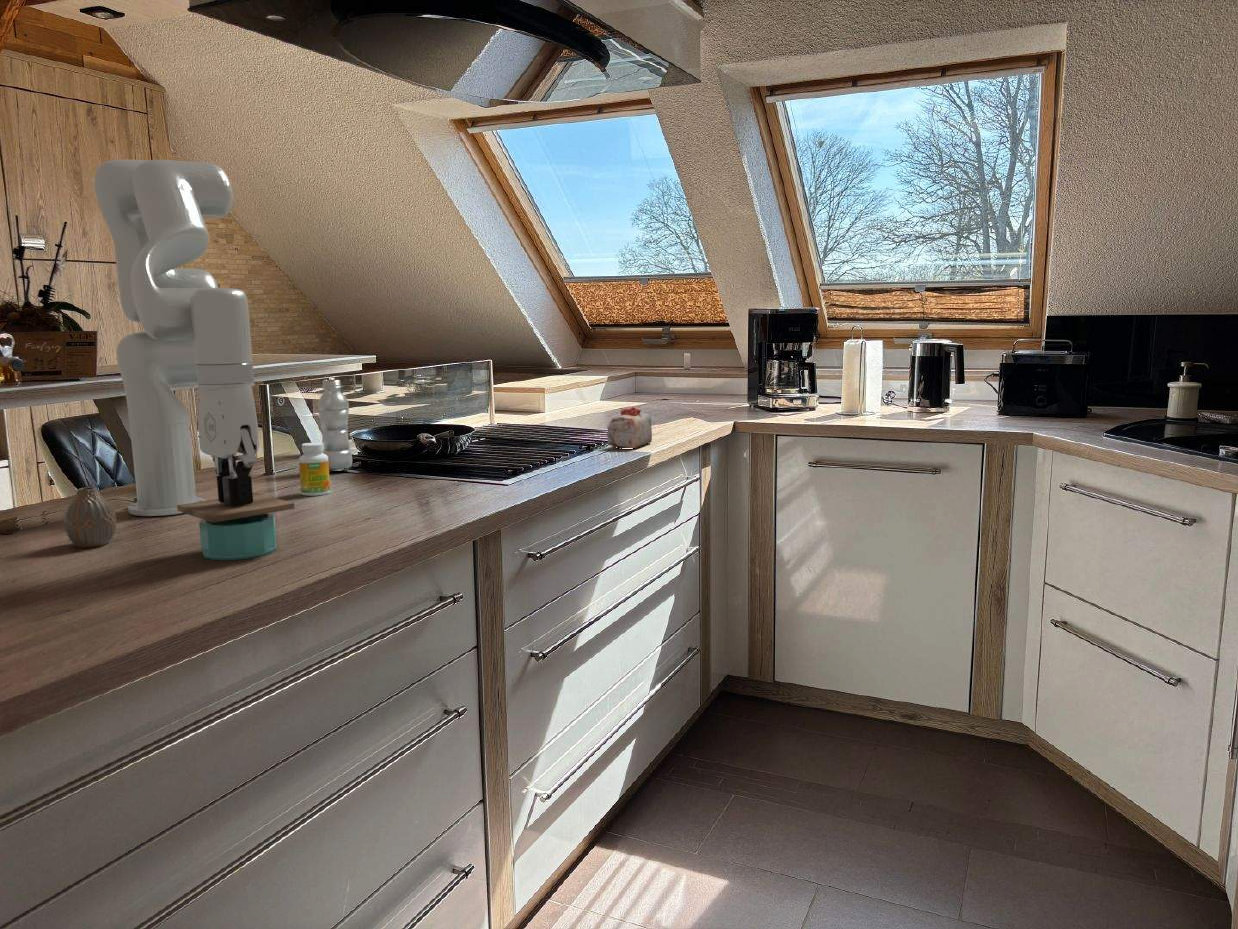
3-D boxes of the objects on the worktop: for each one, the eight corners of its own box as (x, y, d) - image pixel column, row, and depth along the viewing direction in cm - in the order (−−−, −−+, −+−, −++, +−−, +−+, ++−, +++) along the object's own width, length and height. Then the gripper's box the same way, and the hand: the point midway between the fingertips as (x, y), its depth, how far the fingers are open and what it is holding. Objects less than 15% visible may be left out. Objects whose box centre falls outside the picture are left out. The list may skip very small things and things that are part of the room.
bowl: (191, 552, 139) (188, 519, 138) (257, 539, 146) (254, 508, 145) (221, 564, 132) (218, 529, 131) (288, 550, 139) (286, 517, 139)
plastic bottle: (329, 469, 212) (323, 379, 209) (358, 469, 211) (352, 379, 208) (316, 474, 206) (309, 381, 202) (345, 474, 205) (339, 381, 201)
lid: (177, 510, 138) (174, 478, 137) (257, 498, 147) (255, 467, 146) (212, 522, 130) (209, 488, 129) (294, 508, 138) (292, 476, 138)
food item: (635, 451, 231) (634, 411, 229) (605, 450, 234) (604, 410, 232) (654, 443, 243) (654, 405, 242) (626, 442, 246) (625, 404, 245)
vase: (126, 538, 149) (121, 483, 147) (104, 549, 142) (98, 492, 140) (82, 539, 148) (75, 484, 147) (57, 551, 142) (50, 493, 140)
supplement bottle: (308, 497, 179) (304, 446, 178) (296, 493, 183) (293, 443, 182) (335, 493, 183) (331, 443, 181) (323, 490, 187) (319, 441, 185)
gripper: (175, 375, 138) (186, 499, 141) (224, 380, 127) (235, 515, 130) (226, 372, 143) (236, 492, 146) (277, 377, 132) (287, 506, 135)
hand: (235, 501), depth 138 cm, fingers closed on lid, 3 cm apart
